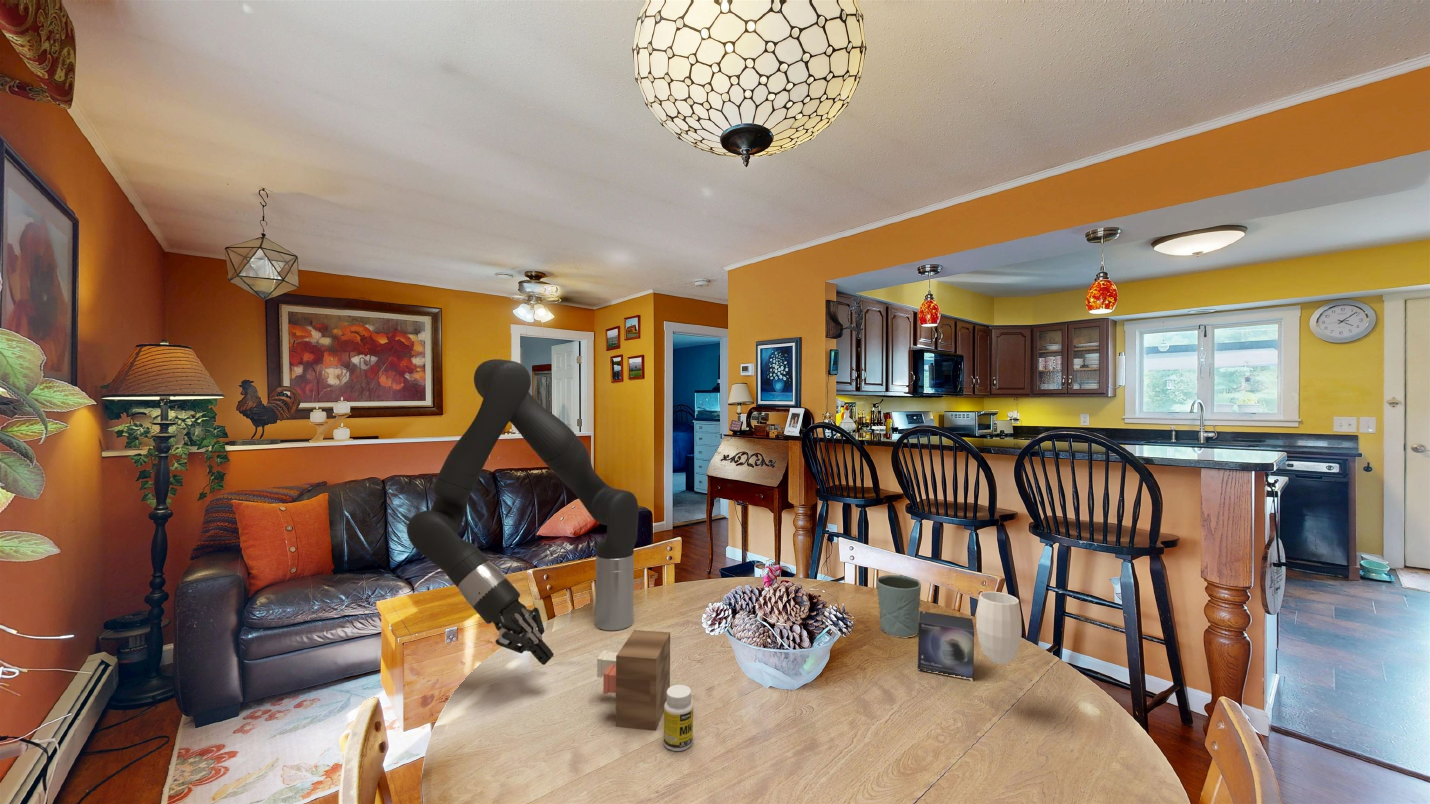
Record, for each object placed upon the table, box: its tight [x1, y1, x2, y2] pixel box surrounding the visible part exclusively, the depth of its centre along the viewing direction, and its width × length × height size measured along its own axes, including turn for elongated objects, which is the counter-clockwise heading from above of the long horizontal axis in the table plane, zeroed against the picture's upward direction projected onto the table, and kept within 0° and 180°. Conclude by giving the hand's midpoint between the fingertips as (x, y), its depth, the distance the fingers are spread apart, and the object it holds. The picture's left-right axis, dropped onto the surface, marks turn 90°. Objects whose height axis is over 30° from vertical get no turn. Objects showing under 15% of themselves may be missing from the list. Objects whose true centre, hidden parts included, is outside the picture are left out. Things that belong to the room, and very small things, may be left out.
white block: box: [596, 649, 618, 679], centre depth 99 cm, size 3×8×3 cm, turn 82°
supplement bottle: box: [663, 684, 694, 752], centre depth 87 cm, size 5×5×8 cm
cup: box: [975, 591, 1023, 665], centre depth 96 cm, size 7×7×21 cm
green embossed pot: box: [876, 574, 922, 637], centre depth 130 cm, size 10×10×12 cm
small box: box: [917, 610, 975, 679], centre depth 111 cm, size 11×6×10 cm, turn 68°
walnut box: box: [615, 629, 671, 731], centre depth 96 cm, size 10×7×12 cm
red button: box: [602, 664, 616, 695], centre depth 94 cm, size 3×8×3 cm, turn 82°
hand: (549, 660), depth 101 cm, fingers closed
